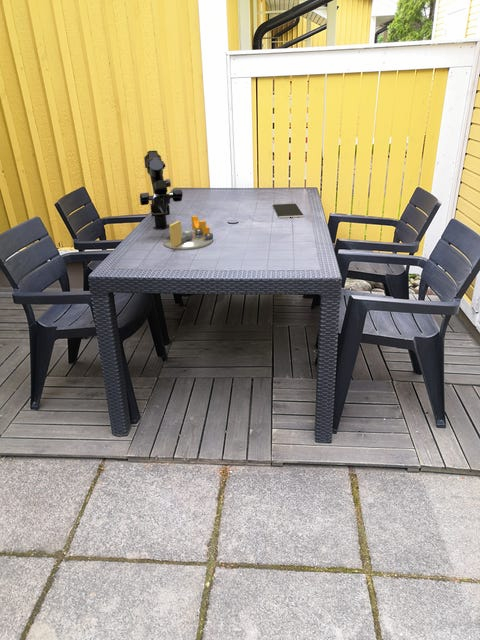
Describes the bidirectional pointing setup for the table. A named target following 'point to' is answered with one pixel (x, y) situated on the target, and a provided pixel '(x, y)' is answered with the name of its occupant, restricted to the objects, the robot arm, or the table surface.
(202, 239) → the dial plate
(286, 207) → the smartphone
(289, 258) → the table surface
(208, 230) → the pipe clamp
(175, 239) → the tan upright panel
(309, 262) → the table surface
